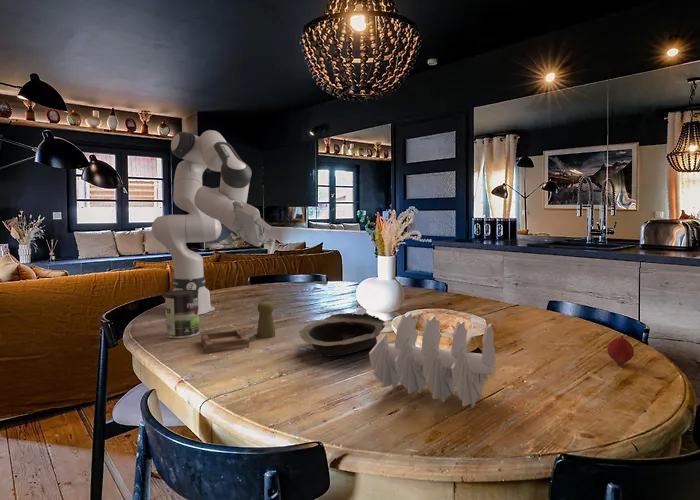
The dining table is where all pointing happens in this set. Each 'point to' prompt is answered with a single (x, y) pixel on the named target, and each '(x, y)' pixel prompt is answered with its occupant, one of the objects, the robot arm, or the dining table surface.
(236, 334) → the walnut socket block
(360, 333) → the stone bowl
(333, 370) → the dining table surface
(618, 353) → the onion
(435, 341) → the spiral staircase
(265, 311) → the cork
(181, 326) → the coffee can
